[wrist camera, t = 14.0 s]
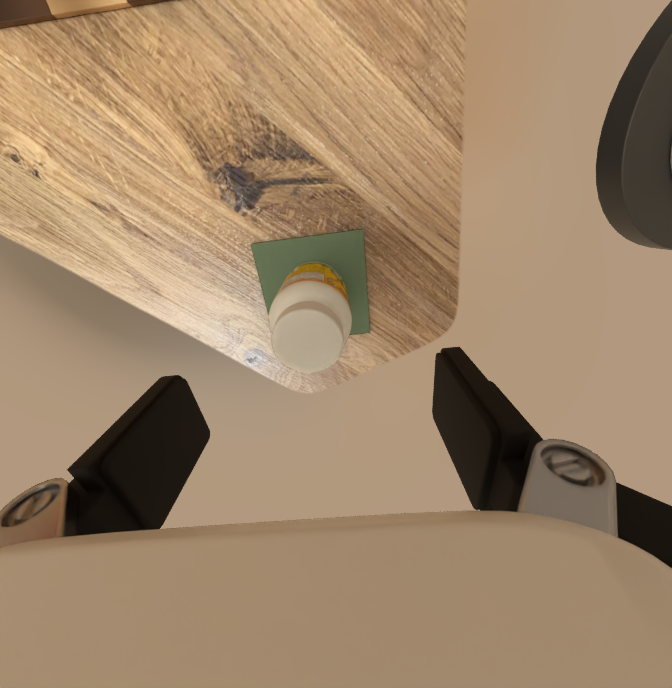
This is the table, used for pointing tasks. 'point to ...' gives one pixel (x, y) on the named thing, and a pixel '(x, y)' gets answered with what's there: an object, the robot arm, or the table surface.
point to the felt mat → (330, 249)
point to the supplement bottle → (310, 318)
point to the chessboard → (57, 9)
